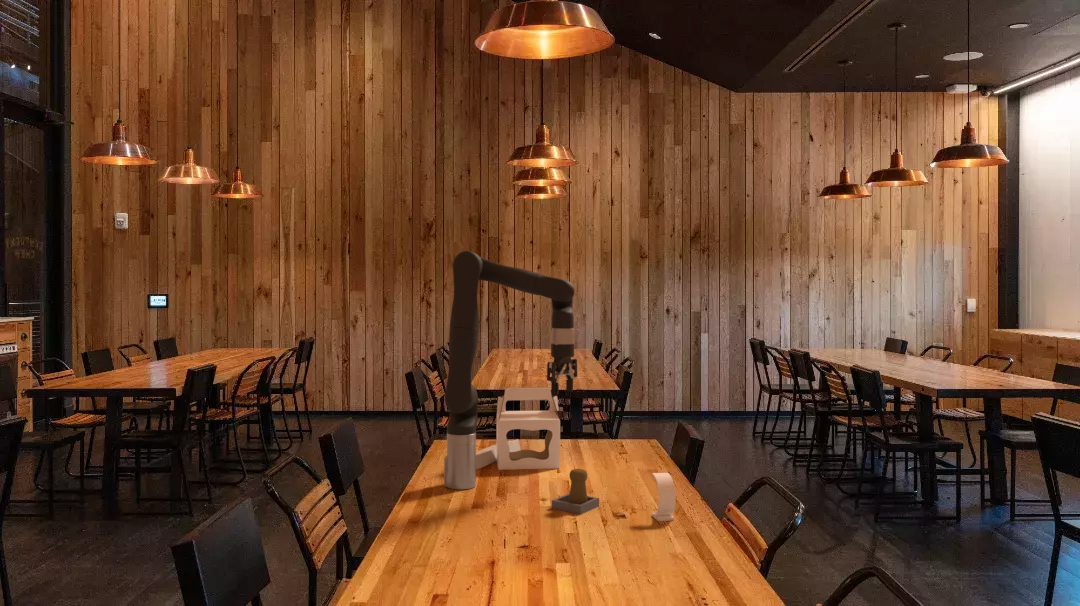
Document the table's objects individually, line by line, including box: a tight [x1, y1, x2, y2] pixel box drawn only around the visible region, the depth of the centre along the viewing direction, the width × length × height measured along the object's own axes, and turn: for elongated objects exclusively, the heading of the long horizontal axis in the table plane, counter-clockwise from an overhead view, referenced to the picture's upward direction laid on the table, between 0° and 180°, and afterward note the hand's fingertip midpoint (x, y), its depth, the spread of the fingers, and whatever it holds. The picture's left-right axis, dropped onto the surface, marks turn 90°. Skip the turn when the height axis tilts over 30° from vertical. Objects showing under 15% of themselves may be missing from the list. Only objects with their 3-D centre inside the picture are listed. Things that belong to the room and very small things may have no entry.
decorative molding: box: [476, 438, 522, 471], centre depth 277 cm, size 34×5×10 cm
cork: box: [568, 468, 588, 505], centre depth 215 cm, size 6×6×11 cm
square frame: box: [551, 492, 600, 515], centre depth 215 cm, size 10×10×2 cm
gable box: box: [495, 386, 561, 471], centre depth 266 cm, size 22×13×28 cm, turn 96°
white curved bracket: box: [651, 472, 677, 522], centre depth 205 cm, size 5×6×12 cm
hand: (562, 392), depth 238 cm, fingers open, 8 cm apart
